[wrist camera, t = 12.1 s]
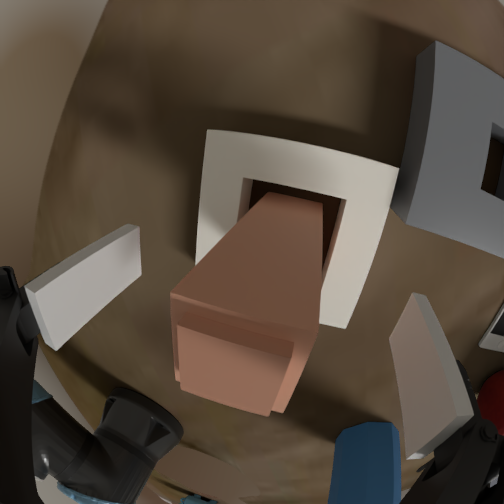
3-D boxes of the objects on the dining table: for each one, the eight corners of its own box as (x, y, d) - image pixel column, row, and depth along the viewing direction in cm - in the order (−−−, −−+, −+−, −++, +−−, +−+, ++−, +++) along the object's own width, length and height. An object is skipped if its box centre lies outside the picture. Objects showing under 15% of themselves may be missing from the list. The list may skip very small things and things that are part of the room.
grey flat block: (390, 207, 18) (405, 223, 14) (416, 56, 12) (435, 40, 9) (512, 252, 15) (534, 271, 12) (539, 129, 10) (566, 133, 7)
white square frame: (208, 272, 24) (194, 290, 21) (223, 130, 18) (207, 129, 16) (344, 306, 22) (345, 328, 19) (387, 164, 16) (399, 168, 14)
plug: (260, 241, 21) (168, 391, 8) (268, 191, 19) (159, 304, 7) (310, 253, 21) (280, 426, 8) (322, 203, 19) (317, 349, 6)
